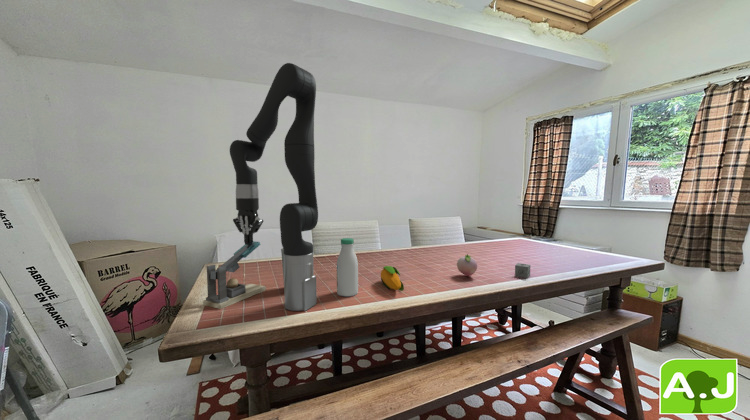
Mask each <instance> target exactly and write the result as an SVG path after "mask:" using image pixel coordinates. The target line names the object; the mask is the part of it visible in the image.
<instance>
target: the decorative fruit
mask: <svg viewBox="0 0 750 420" xmlns="http://www.w3.org/2000/svg"><path fill="white" fill-rule="evenodd" d="M456 267H457V270H458V271H459V272H460V273H461V274H462V275H464V276H466V277H468V278H469V277H470V276H472V275H474V274H475V272H476V271H477V269H478V264H477V261H476V259H474V258H473V257H471V255H470V254H469V253H467V254H465V256H460V258H458V260H457V262H456Z"/></svg>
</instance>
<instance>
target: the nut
mask: <svg viewBox="0 0 750 420" xmlns="http://www.w3.org/2000/svg"><path fill="white" fill-rule="evenodd" d="M238 284H239V280H238V279H237V278H235V277H232V278H229V279H228V280H227V281H226V285H227V287H228V288H230V289H233V288H236V287H237V286H238Z"/></svg>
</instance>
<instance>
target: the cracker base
mask: <svg viewBox="0 0 750 420" xmlns="http://www.w3.org/2000/svg"><path fill="white" fill-rule="evenodd" d="M216 269H217V279H216V280H215V279H210V276H211V271H215V270H216ZM206 280H207V282H206V284H207V285H206V286H207V297H205V299H204V300H202V305H203V306H206V307H210V308H215V309H219V310H223V309H224V308H226V307H229V306H232V305H234V304H236V303H238V302H241V301H244V300H245V299H249V298H250V297H252V296H255V295H258V294H260V293H263V292H265V291H266V290H267V289H266V287H267V286H265V285H260V284H255V283H247V284H245V283H244V284H243V283H238V286H237V287H236V288H233V289H230V288H228V287H227V272H226V266H223V267H220V266H219V267H216V264H210V265H208V266H206Z"/></svg>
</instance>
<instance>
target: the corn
mask: <svg viewBox="0 0 750 420" xmlns="http://www.w3.org/2000/svg"><path fill="white" fill-rule="evenodd" d="M400 276H401V273H400V272H399V270H398V269H397V268H396V267H395V266H391V265H384V266H383V268H382V270H381V271H380V280H381V282H382V284H383V285H384V286H385V287H386V288H387V289H388V290H394V291H401V292H403V291H404V283H403V282H402V281H401V278H400Z"/></svg>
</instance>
